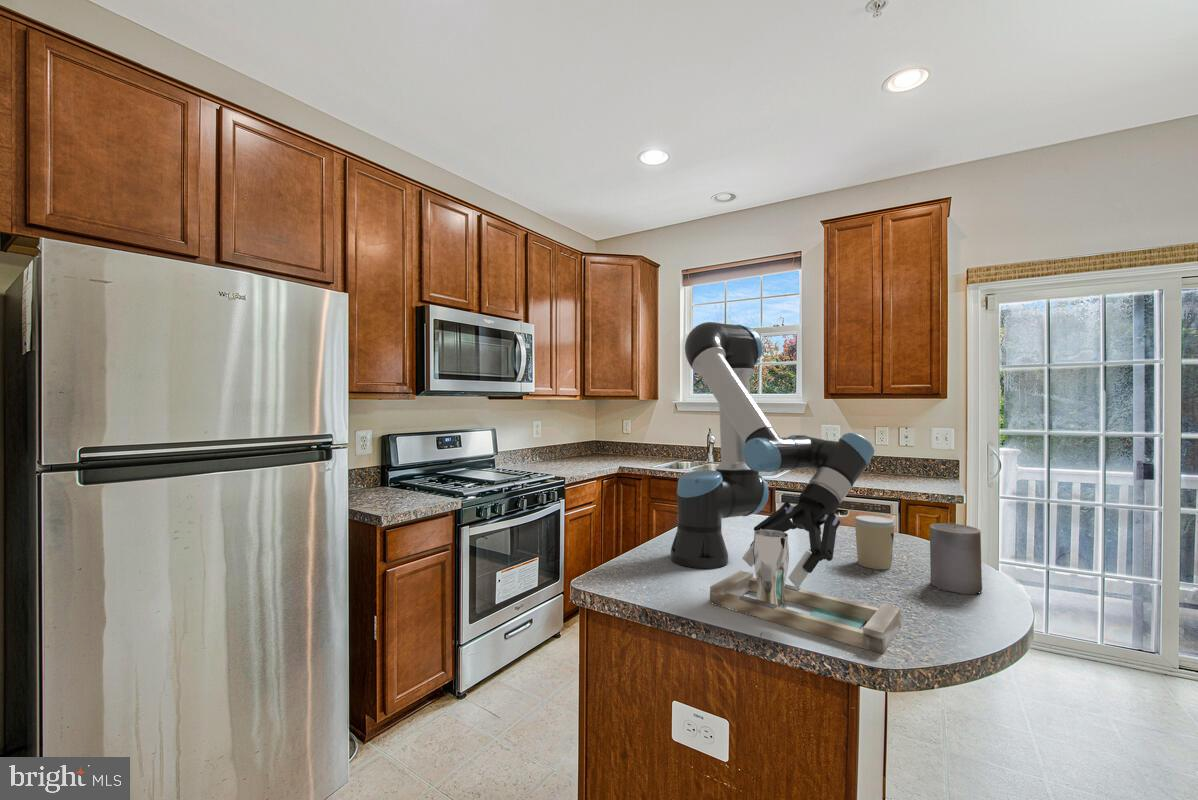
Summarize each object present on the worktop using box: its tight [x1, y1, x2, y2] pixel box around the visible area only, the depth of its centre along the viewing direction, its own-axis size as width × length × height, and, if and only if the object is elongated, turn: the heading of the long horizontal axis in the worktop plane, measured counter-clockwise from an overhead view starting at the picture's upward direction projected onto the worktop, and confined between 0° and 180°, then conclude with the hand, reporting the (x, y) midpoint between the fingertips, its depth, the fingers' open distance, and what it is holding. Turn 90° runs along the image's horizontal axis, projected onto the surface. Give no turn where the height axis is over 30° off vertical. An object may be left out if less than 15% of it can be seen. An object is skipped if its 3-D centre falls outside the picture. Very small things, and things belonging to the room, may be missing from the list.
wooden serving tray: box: [709, 570, 902, 655], centre depth 99 cm, size 32×14×4 cm, turn 49°
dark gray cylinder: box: [929, 521, 983, 595], centre depth 116 cm, size 10×10×15 cm
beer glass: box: [753, 530, 790, 609], centre depth 103 cm, size 7×7×15 cm
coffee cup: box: [853, 515, 896, 570], centre depth 132 cm, size 9×9×12 cm
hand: (768, 572), depth 103 cm, fingers open, 13 cm apart
